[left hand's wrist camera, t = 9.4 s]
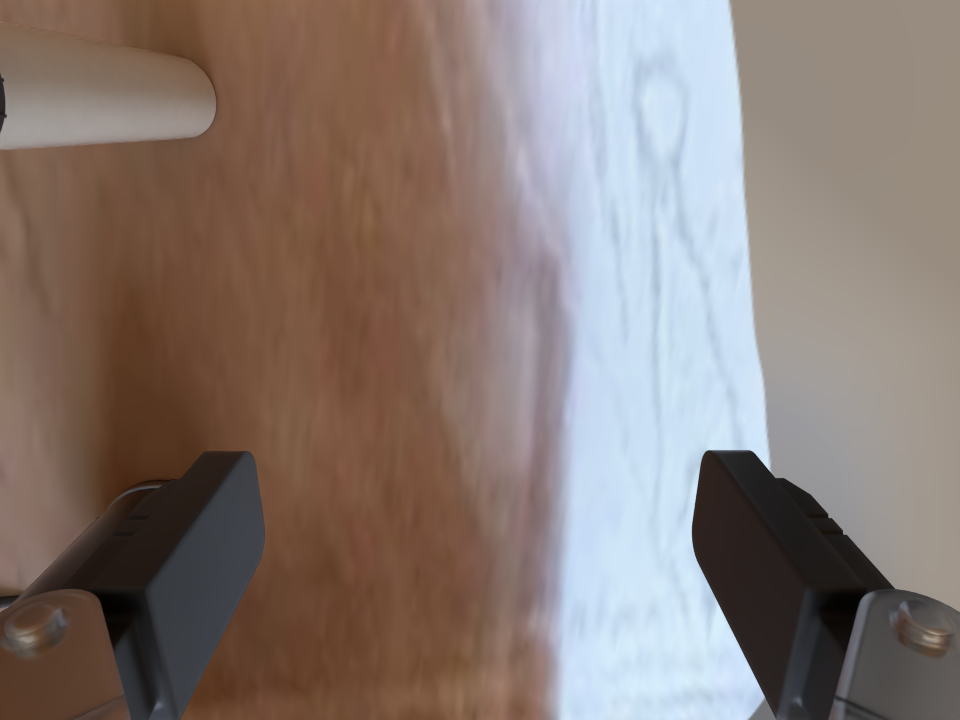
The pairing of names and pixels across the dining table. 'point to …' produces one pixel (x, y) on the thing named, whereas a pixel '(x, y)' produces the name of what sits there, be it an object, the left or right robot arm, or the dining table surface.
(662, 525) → the dining table surface
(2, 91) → the lid
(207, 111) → the beige cylinder
